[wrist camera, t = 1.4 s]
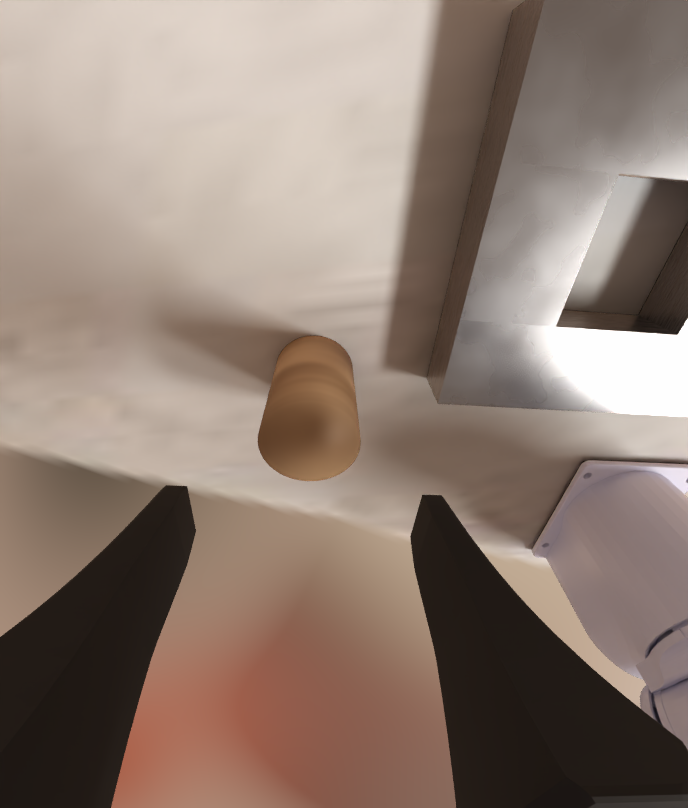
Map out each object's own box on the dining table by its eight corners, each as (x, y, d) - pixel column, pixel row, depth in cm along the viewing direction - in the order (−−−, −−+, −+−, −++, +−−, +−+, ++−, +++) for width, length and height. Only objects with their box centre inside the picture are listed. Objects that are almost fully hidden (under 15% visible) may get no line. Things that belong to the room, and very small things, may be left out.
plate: (670, 392, 21) (711, 420, 19) (426, 378, 20) (438, 406, 18) (887, 60, 13) (1000, 40, 11) (512, 10, 12) (553, -22, 10)
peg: (349, 404, 21) (355, 482, 16) (276, 401, 21) (260, 479, 16) (356, 338, 19) (366, 404, 14) (275, 333, 18) (255, 398, 13)
